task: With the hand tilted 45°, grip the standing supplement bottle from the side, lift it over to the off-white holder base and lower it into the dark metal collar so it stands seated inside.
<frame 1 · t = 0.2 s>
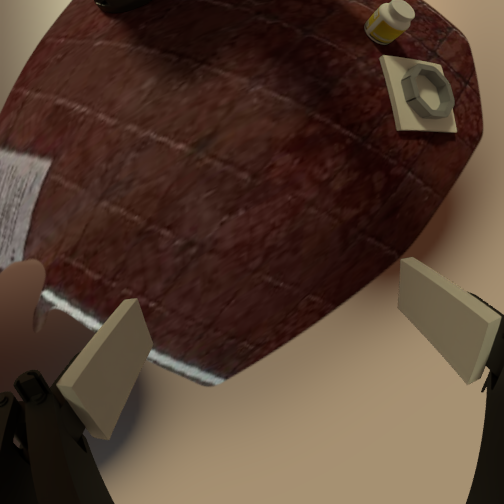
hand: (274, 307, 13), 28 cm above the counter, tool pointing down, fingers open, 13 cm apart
supplement bottle: (377, 33, 32), on the counter
holder: (419, 95, 34), on the counter
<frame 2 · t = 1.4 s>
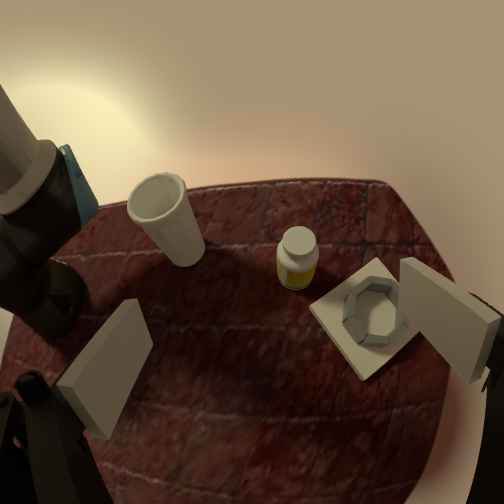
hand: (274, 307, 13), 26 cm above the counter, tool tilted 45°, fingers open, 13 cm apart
supplement bottle: (295, 274, 41), on the counter
holder: (370, 317, 37), on the counter
cup: (187, 251, 45), on the counter
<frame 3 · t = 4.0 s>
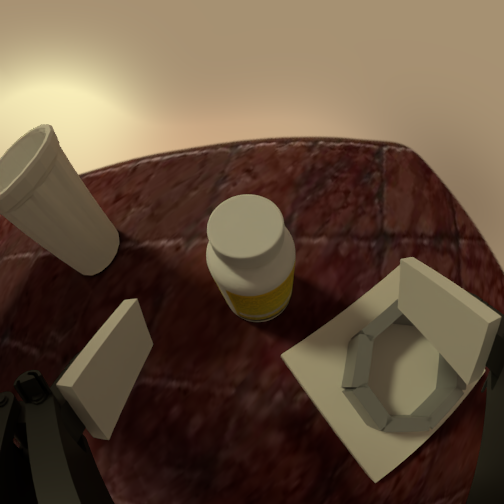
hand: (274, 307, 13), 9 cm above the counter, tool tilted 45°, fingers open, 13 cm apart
supplement bottle: (258, 291, 23), on the counter
holder: (393, 371, 18), on the counter
cup: (98, 251, 26), on the counter
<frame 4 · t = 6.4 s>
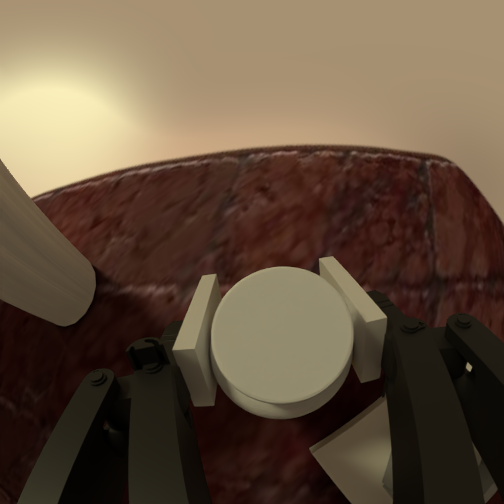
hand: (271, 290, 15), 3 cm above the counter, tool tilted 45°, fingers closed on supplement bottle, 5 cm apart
supplement bottle: (281, 365, 16), on the counter, touching gripper
holder: (438, 449, 11), on the counter
cup: (72, 293, 20), on the counter
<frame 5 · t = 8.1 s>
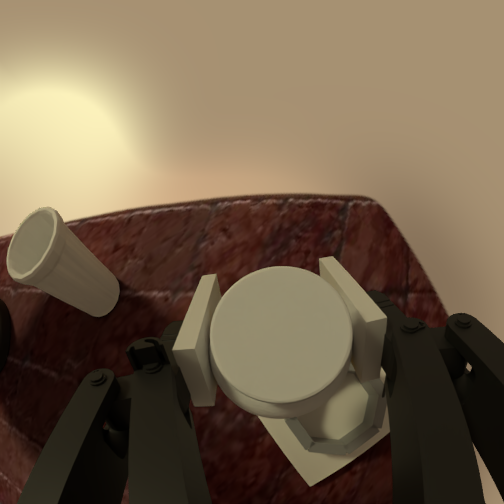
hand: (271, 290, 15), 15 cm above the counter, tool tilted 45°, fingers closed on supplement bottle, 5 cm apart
supplement bottle: (280, 365, 16), point 12 cm above the counter, touching gripper
holder: (329, 404, 24), on the counter
cup: (102, 295, 32), on the counter
when the fingers open (6 cm above the counter, at t = 10.3 s): supplement bottle drops 1 cm, resting on holder.
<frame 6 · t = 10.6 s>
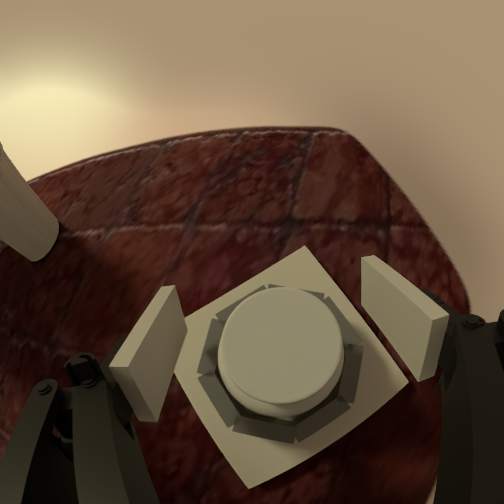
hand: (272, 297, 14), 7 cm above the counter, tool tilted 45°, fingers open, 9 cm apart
supplement bottle: (280, 367, 17), point 1 cm above the counter, touching holder
holder: (281, 368, 18), on the counter
cup: (44, 241, 27), on the counter
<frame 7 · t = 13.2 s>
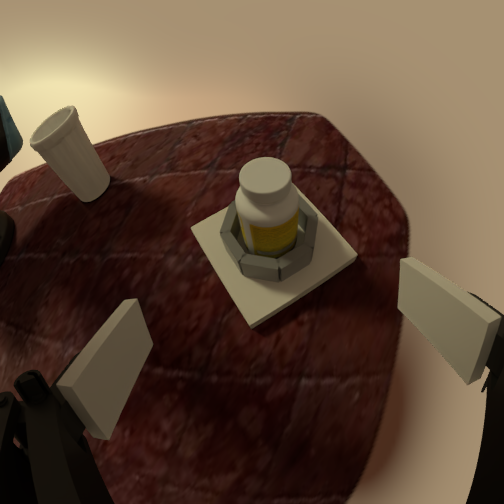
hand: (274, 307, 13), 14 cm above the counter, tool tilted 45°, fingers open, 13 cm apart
supplement bottle: (270, 241, 29), point 1 cm above the counter, touching holder
holder: (271, 247, 30), on the counter
cup: (95, 189, 39), on the counter
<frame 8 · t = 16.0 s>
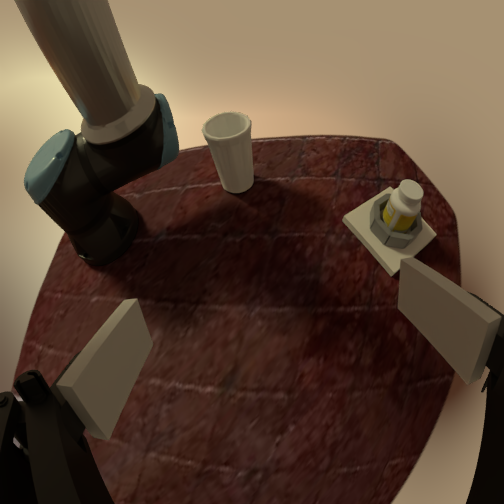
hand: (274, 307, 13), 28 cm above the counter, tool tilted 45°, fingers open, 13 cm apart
supplement bottle: (392, 226, 44), point 1 cm above the counter, touching holder
holder: (390, 229, 45), on the counter
cup: (238, 183, 54), on the counter
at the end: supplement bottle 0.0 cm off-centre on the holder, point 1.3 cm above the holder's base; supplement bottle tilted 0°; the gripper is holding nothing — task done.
